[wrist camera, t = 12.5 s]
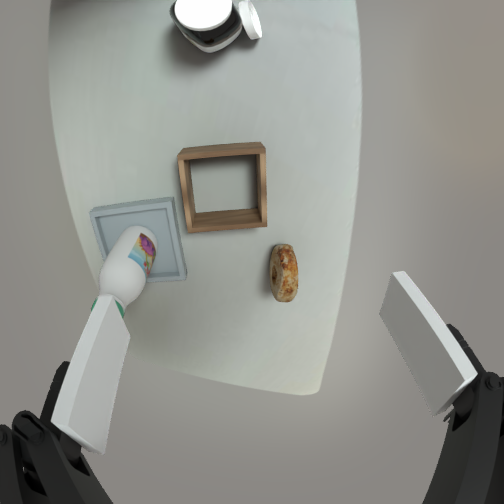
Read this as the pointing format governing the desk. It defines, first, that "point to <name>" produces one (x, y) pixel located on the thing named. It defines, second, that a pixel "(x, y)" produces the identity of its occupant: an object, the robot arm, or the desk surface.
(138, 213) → the tray
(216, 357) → the desk surface
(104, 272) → the milk bottle
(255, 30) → the spread jar
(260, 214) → the open wooden box frame
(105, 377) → the robot arm
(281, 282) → the bagel
